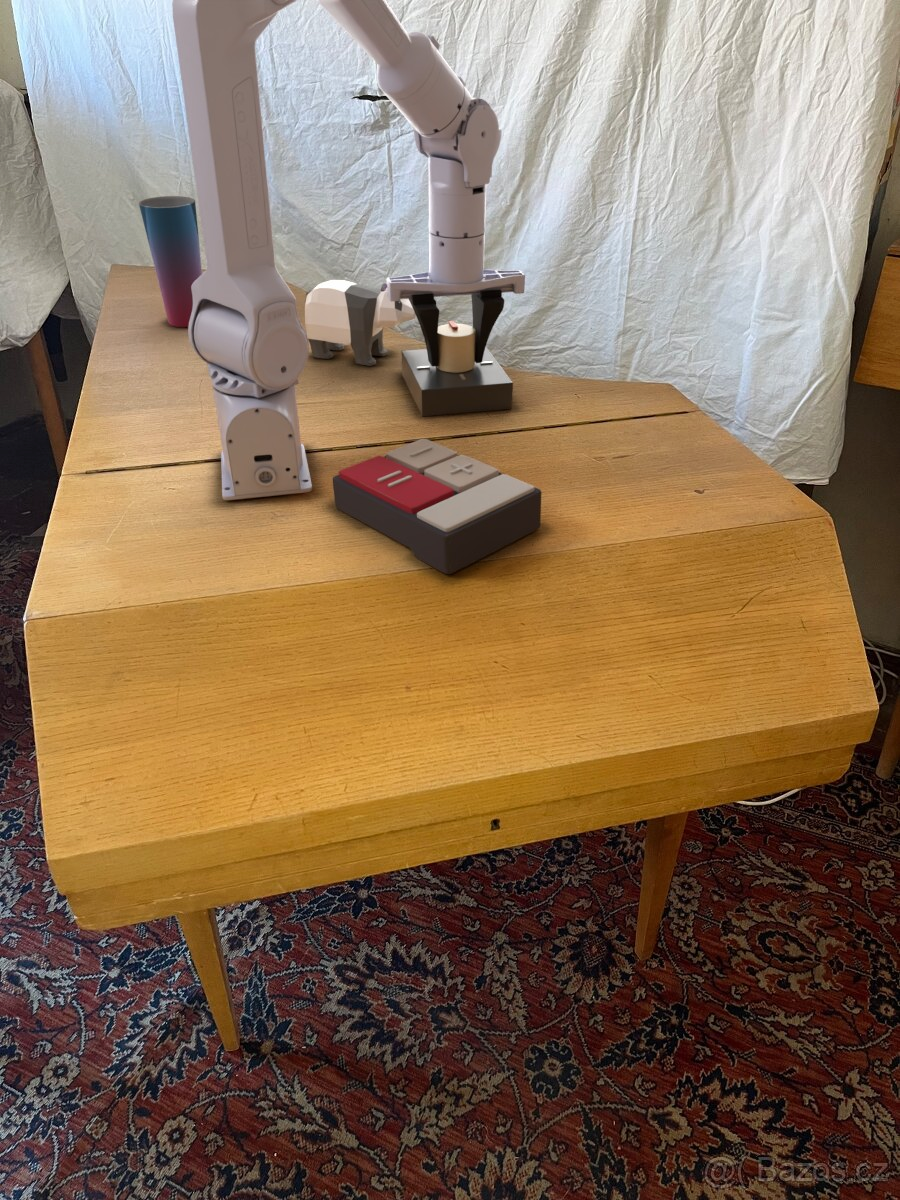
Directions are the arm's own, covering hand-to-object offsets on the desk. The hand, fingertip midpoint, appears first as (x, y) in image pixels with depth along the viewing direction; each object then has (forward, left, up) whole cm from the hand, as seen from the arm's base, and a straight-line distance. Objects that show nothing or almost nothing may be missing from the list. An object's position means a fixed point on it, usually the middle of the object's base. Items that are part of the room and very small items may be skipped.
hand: (455, 361), depth 95 cm
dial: (0, 0, 0) cm, 0 cm away
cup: (+31, +30, -4) cm, 43 cm away
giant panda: (+13, +9, -4) cm, 16 cm away
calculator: (-27, +8, -4) cm, 28 cm away
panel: (0, 0, -3) cm, 3 cm away
